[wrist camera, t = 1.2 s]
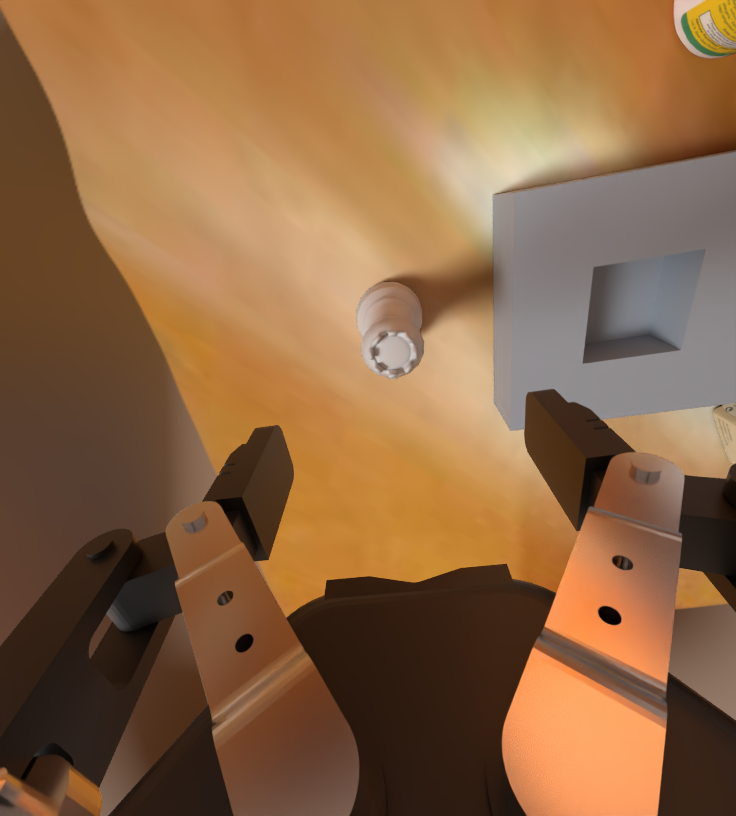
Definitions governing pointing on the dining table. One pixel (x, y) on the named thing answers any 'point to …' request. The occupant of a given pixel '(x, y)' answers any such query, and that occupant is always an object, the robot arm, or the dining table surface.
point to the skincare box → (727, 428)
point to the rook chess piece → (390, 329)
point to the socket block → (618, 290)
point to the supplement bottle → (706, 26)
